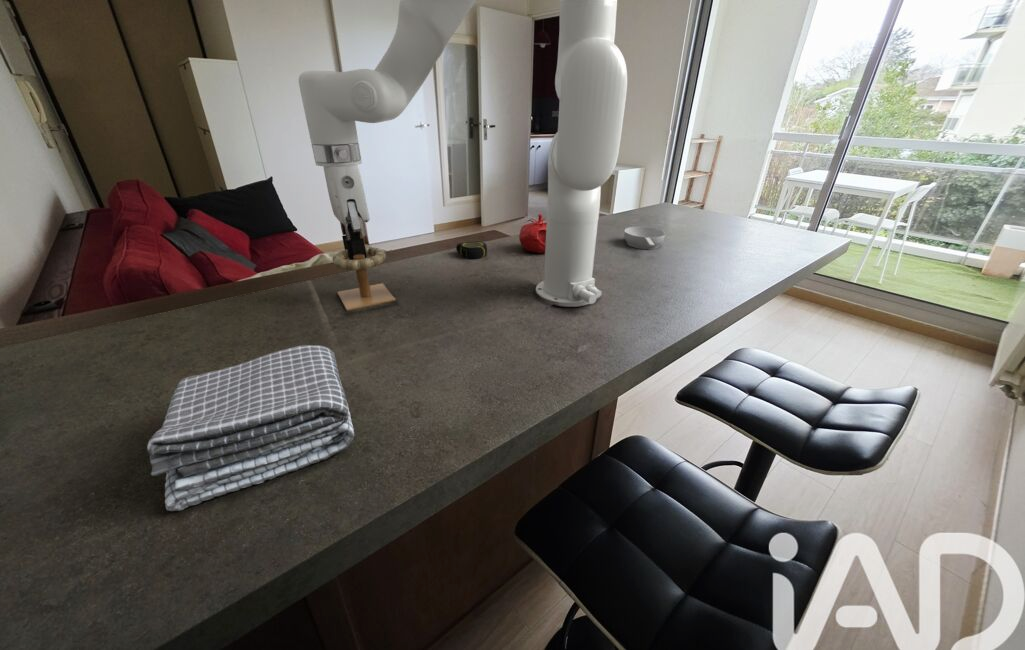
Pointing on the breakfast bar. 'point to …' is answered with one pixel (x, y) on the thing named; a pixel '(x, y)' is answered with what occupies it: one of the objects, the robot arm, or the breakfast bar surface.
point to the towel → (250, 424)
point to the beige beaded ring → (371, 262)
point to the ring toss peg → (364, 291)
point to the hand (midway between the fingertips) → (356, 256)
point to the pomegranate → (534, 236)
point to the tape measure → (472, 250)
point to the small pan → (644, 237)
